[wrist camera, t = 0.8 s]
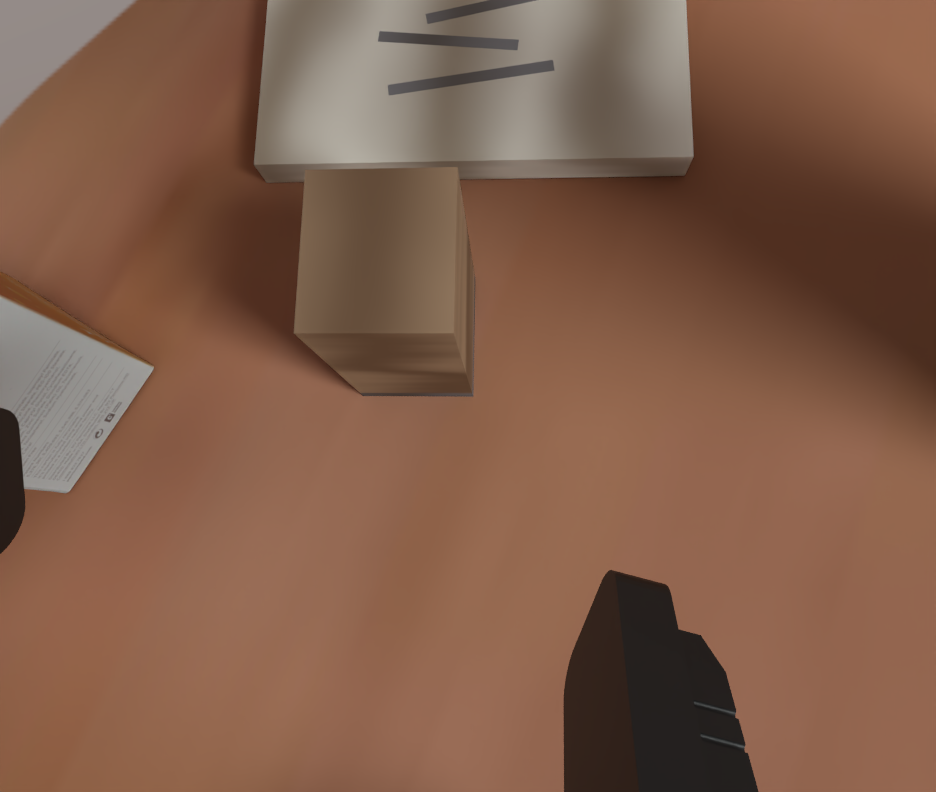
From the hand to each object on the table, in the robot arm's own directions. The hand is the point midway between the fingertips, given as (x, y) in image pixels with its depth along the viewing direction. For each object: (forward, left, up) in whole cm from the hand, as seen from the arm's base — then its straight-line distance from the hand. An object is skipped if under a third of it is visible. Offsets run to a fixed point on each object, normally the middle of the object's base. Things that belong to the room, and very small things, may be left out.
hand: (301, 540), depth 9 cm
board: (-1, -20, -18) cm, 27 cm away
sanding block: (+1, -8, -18) cm, 20 cm away
